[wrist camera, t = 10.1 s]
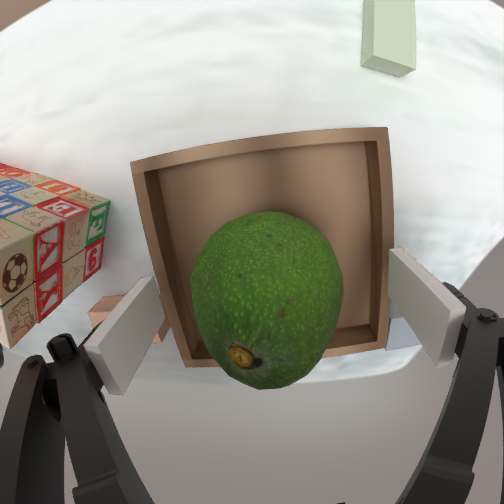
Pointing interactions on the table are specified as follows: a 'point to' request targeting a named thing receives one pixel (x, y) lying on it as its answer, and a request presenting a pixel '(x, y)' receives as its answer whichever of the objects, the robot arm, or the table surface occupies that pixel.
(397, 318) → the slate brick
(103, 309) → the terracotta brick
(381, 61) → the sage brick
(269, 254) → the fruit
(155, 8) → the table surface
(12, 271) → the stack of blocks
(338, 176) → the tray
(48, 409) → the robot arm
